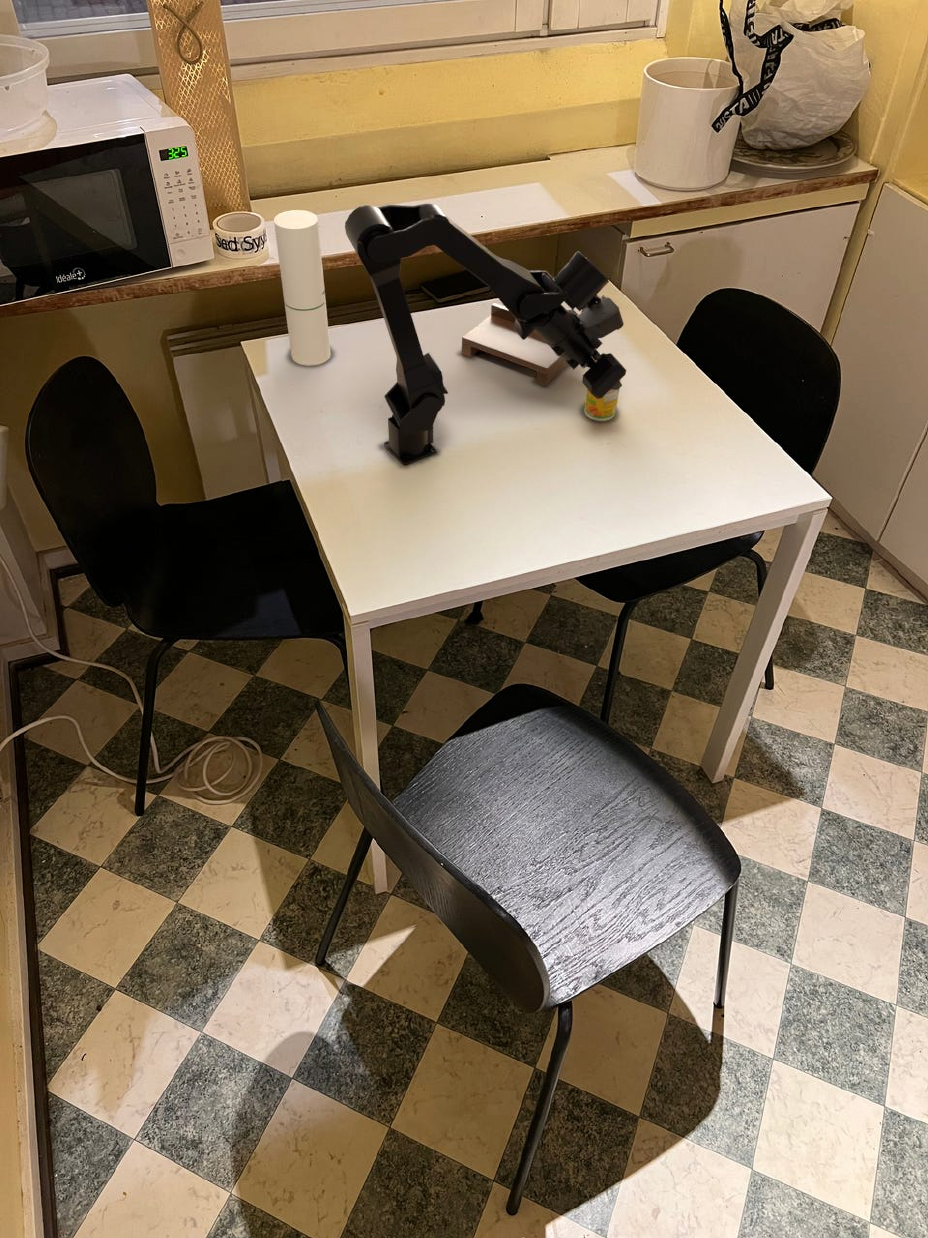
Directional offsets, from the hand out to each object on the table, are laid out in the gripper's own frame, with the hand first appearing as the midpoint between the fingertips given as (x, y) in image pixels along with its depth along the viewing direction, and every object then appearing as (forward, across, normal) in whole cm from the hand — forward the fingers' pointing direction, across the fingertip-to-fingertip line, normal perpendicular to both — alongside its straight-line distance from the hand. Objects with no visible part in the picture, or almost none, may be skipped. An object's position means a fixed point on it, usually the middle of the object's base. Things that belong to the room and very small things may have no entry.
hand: (612, 378), depth 153 cm
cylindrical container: (-27, +33, +36) cm, 56 cm away
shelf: (-1, +21, +10) cm, 23 cm away
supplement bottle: (+4, 0, +6) cm, 7 cm away
